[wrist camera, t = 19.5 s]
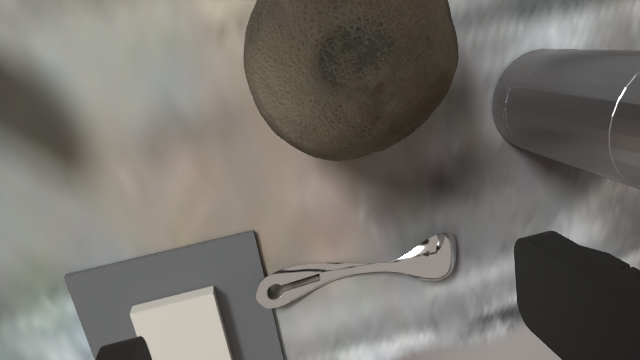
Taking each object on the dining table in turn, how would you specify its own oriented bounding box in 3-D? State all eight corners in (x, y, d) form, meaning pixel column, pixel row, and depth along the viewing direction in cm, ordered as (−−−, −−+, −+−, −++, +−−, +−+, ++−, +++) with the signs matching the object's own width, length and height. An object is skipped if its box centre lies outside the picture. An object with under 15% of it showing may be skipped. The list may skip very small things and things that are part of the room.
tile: (212, 293, 42) (236, 379, 45) (213, 284, 43) (235, 368, 46) (129, 314, 41) (158, 401, 44) (132, 304, 42) (160, 389, 45)
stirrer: (263, 333, 42) (253, 284, 40) (257, 312, 45) (248, 266, 44) (472, 278, 46) (470, 232, 45) (452, 262, 49) (450, 219, 48)
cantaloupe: (221, -31, 37) (222, -76, 23) (397, -54, 39) (496, -109, 25) (255, 148, 41) (274, 202, 27) (412, 118, 44) (506, 154, 29)
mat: (253, 229, 43) (253, 231, 43) (284, 361, 47) (284, 364, 47) (65, 274, 41) (64, 277, 41) (115, 408, 45) (114, 412, 45)
